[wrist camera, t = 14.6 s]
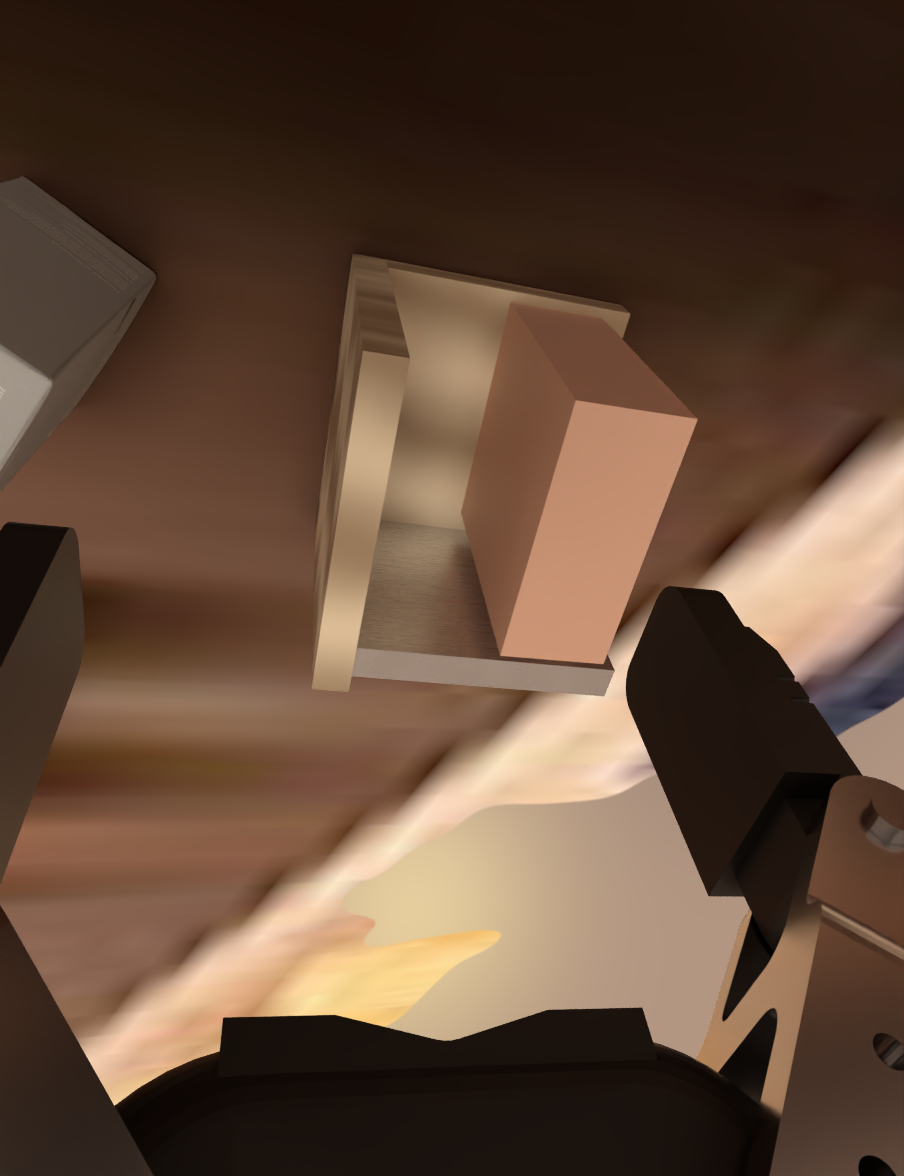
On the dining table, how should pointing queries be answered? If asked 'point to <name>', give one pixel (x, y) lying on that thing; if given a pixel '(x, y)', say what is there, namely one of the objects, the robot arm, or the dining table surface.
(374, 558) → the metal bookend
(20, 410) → the skincare box
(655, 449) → the terracotta book
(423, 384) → the plywood shelf
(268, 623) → the dining table surface
